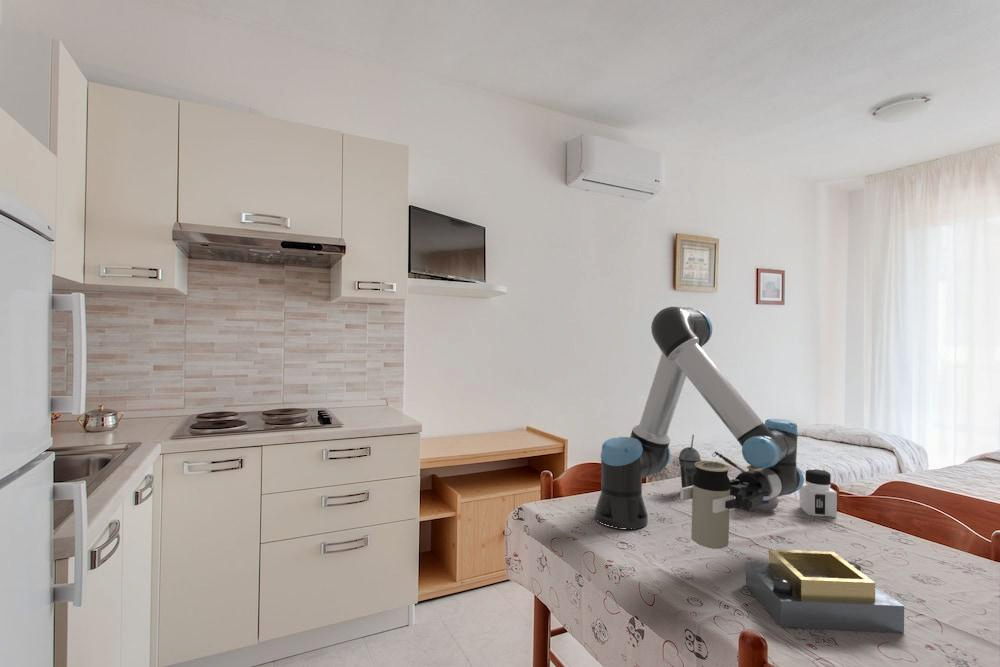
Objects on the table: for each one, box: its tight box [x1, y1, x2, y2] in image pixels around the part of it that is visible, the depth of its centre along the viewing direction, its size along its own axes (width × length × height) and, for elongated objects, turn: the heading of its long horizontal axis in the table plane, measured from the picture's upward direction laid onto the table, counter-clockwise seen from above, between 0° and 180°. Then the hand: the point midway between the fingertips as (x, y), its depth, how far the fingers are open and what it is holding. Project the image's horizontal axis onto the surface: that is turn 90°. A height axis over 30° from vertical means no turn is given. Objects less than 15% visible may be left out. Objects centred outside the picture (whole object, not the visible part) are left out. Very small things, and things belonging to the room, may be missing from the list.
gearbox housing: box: [745, 548, 905, 633], centre depth 102 cm, size 22×16×8 cm
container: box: [799, 468, 838, 518], centre depth 156 cm, size 8×8×13 cm
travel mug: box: [691, 460, 731, 550], centre depth 117 cm, size 8×8×18 cm
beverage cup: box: [678, 434, 702, 488], centre depth 174 cm, size 7×7×20 cm
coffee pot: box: [712, 451, 779, 513], centre depth 163 cm, size 21×12×15 cm, turn 33°
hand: (697, 500), depth 114 cm, fingers closed on travel mug, 8 cm apart
